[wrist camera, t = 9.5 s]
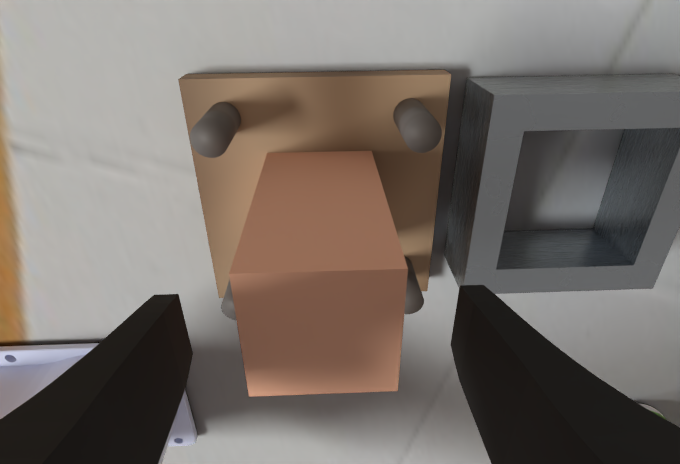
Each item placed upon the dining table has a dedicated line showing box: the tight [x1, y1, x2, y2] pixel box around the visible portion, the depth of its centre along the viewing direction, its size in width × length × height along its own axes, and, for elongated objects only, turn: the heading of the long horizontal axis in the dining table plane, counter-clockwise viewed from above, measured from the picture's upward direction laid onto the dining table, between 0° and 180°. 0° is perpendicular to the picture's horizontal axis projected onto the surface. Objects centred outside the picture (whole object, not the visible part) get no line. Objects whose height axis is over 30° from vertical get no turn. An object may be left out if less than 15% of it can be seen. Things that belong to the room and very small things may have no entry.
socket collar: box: [444, 74, 680, 294], centre depth 17 cm, size 8×8×3 cm
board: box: [178, 70, 451, 320], centre depth 17 cm, size 10×10×4 cm
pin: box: [229, 151, 408, 397], centre depth 14 cm, size 4×4×8 cm
